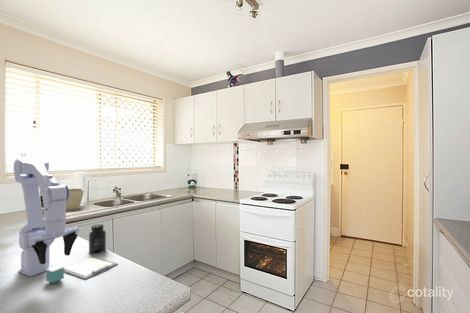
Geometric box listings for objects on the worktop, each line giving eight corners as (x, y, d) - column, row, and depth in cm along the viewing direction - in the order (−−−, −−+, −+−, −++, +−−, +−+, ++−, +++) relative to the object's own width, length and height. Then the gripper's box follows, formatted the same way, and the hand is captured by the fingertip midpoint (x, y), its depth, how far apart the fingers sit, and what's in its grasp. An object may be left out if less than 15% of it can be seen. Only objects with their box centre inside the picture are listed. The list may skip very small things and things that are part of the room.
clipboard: (59, 270, 89) (59, 267, 89) (92, 257, 101) (92, 254, 101) (85, 279, 82) (85, 276, 82) (117, 264, 94) (117, 261, 94)
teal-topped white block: (46, 283, 80) (46, 269, 80) (57, 278, 83) (57, 264, 83) (52, 286, 78) (52, 271, 78) (63, 280, 81) (63, 266, 82)
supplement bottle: (108, 248, 111) (108, 223, 112) (100, 254, 105) (101, 227, 105) (94, 248, 111) (94, 223, 111) (85, 254, 104) (85, 227, 104)
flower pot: (80, 206, 212) (80, 188, 212) (83, 209, 197) (83, 190, 198) (54, 209, 200) (54, 189, 200) (55, 213, 185) (55, 192, 185)
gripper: (36, 226, 73) (36, 270, 72) (83, 216, 86) (83, 253, 86) (25, 224, 76) (24, 265, 75) (72, 214, 89) (72, 250, 89)
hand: (55, 258), depth 81 cm, fingers open, 7 cm apart
